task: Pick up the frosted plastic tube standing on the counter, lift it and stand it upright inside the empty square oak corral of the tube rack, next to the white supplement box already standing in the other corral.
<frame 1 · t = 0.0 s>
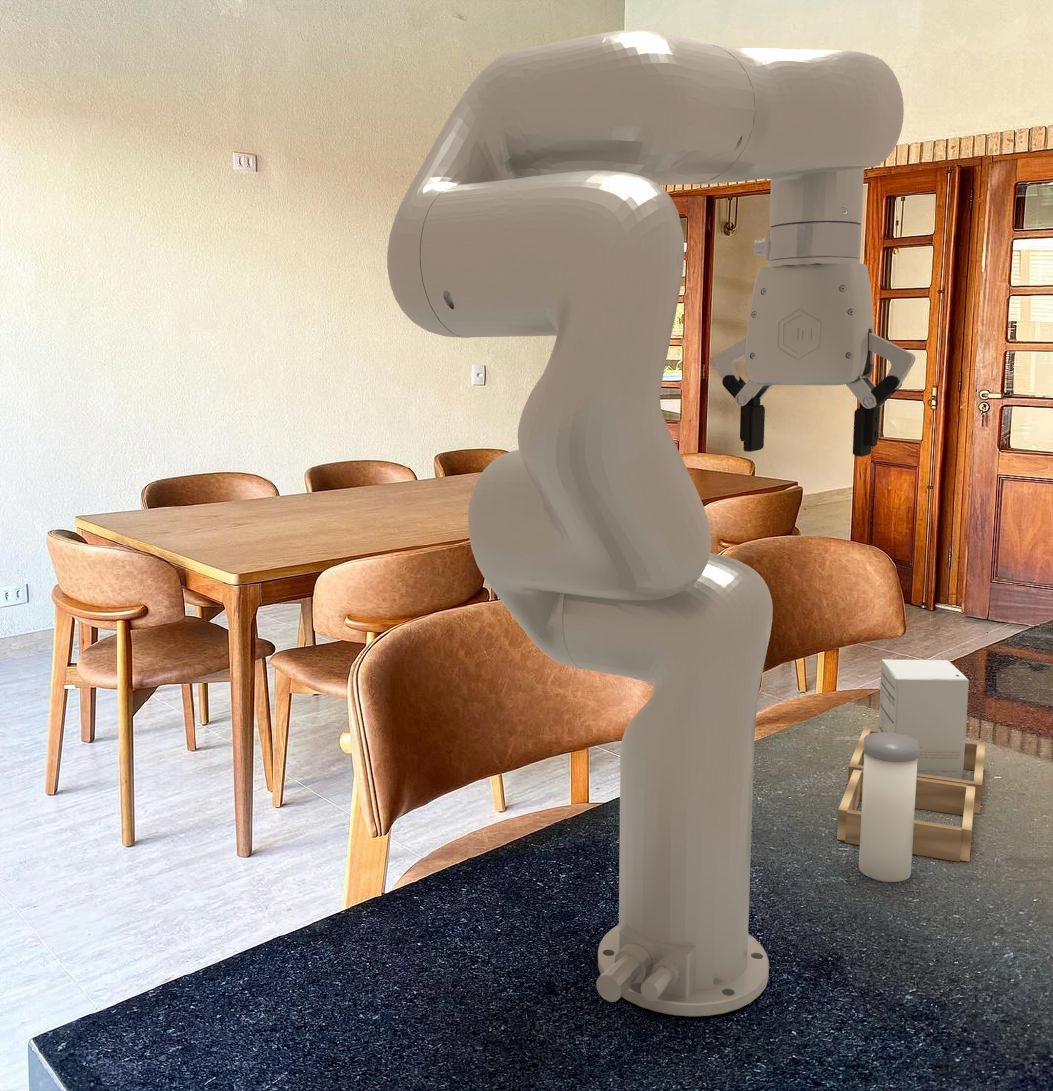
hand: (806, 452, 94), 37 cm above the counter, tool pointing down, fingers open, 9 cm apart
frosted tube: (884, 870, 96), on the counter
oak rack: (912, 803, 110), on the counter
supplement box: (917, 783, 116), resting in oak rack
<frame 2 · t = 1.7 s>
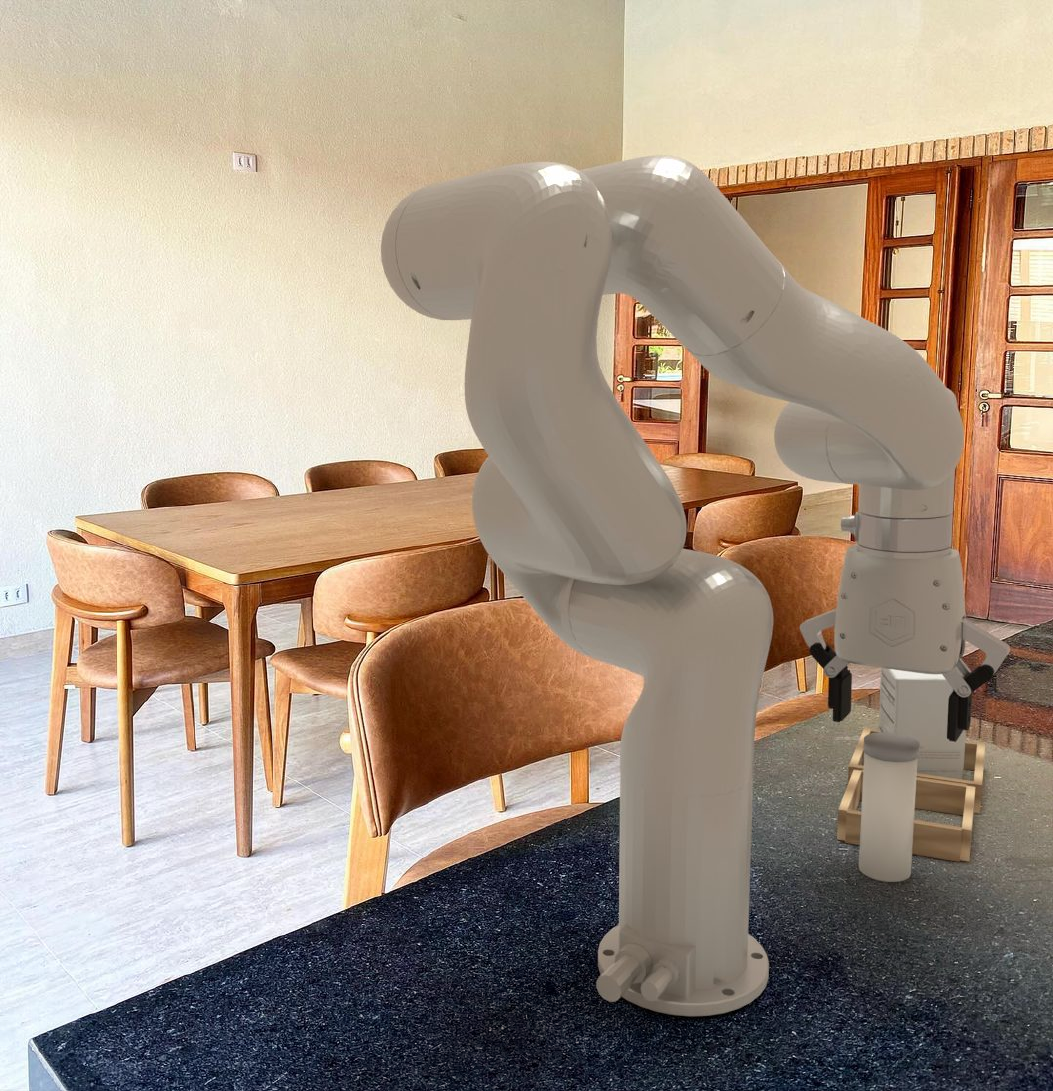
hand: (896, 726, 94), 13 cm above the counter, tool pointing down, fingers open, 9 cm apart
nothing on the counter moved.
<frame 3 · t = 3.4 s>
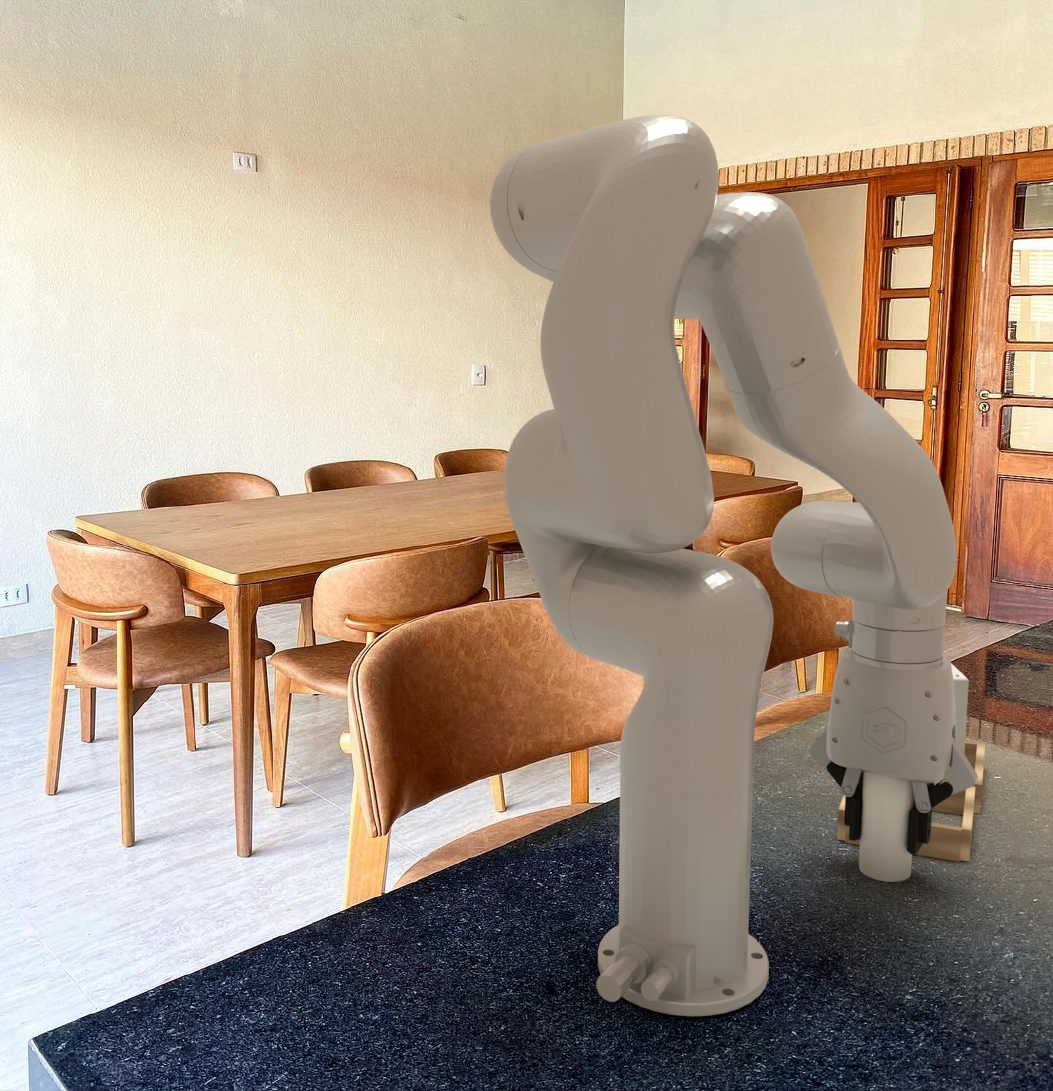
hand: (886, 839, 96), 3 cm above the counter, tool pointing down, fingers closed on frosted tube, 4 cm apart
frosted tube: (884, 870, 96), on the counter, touching gripper
everything else where it was.
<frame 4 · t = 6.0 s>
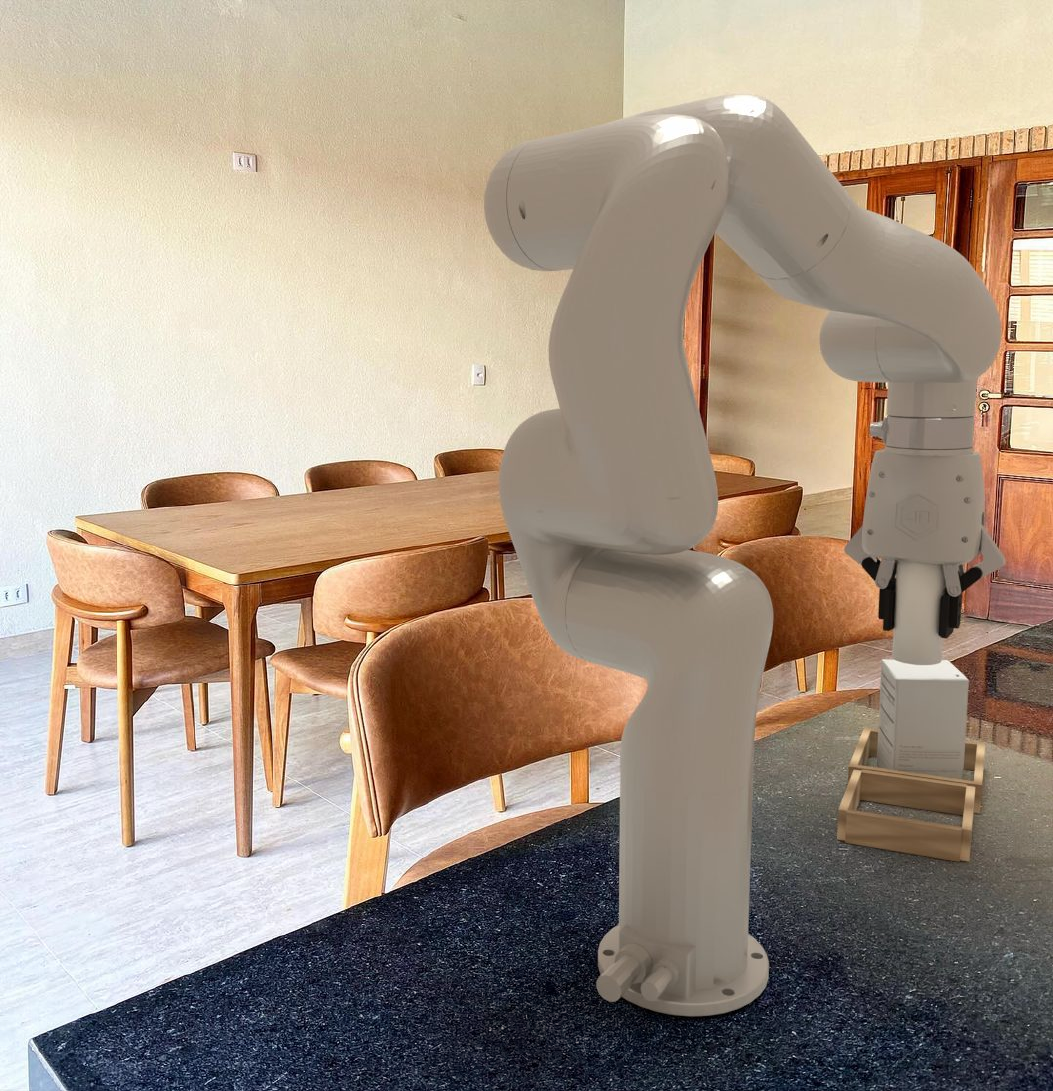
hand: (918, 629, 102), 20 cm above the counter, tool pointing down, fingers closed on frosted tube, 4 cm apart
frosted tube: (916, 658, 102), point 17 cm above the counter, touching gripper
everything else where it was.
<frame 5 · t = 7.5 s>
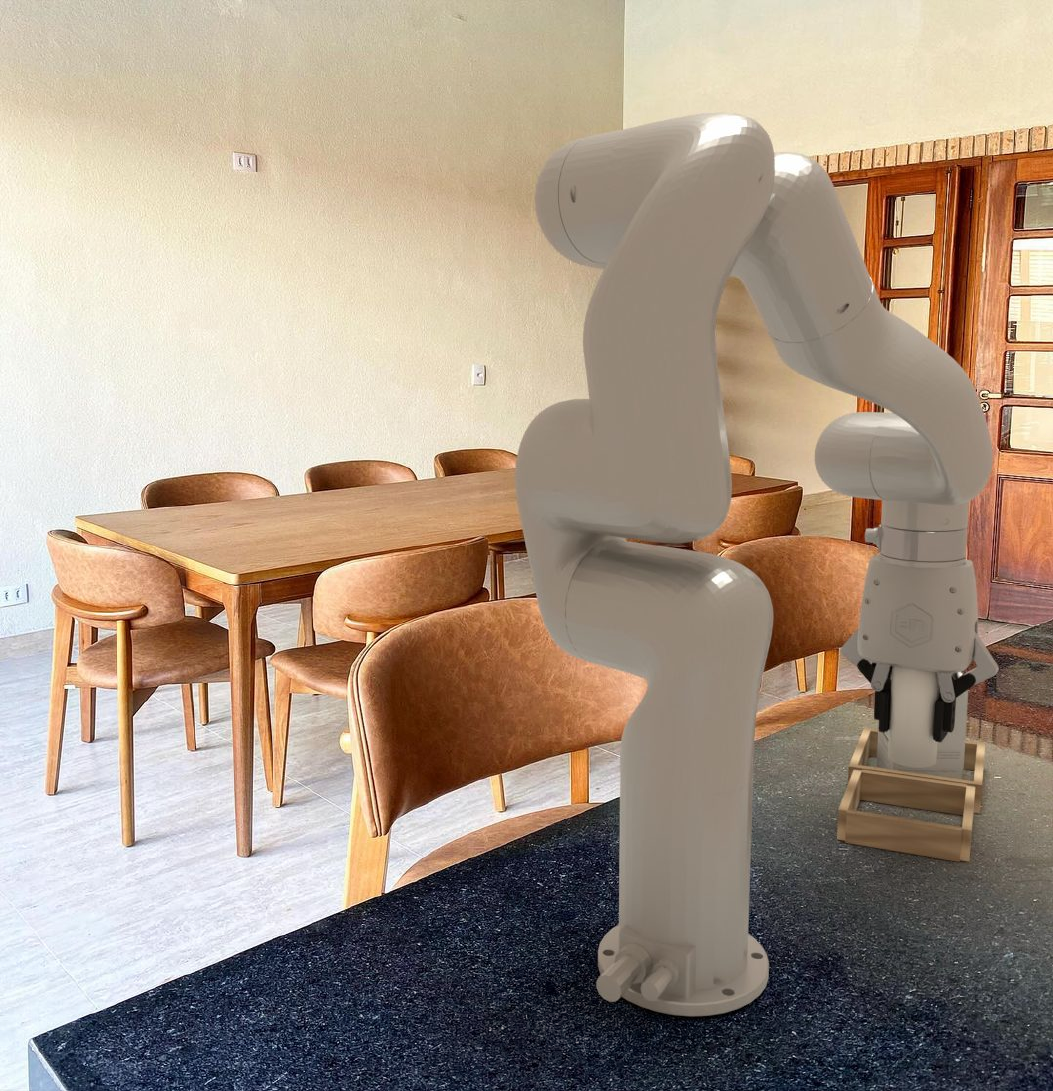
hand: (913, 730, 103), 10 cm above the counter, tool pointing down, fingers closed on frosted tube, 4 cm apart
frosted tube: (911, 758, 104), point 7 cm above the counter, touching gripper
everything else where it was.
when the fingers open (4 cm above the counter, at t = 8.9 s): frosted tube drops 2 cm, resting in oak rack.
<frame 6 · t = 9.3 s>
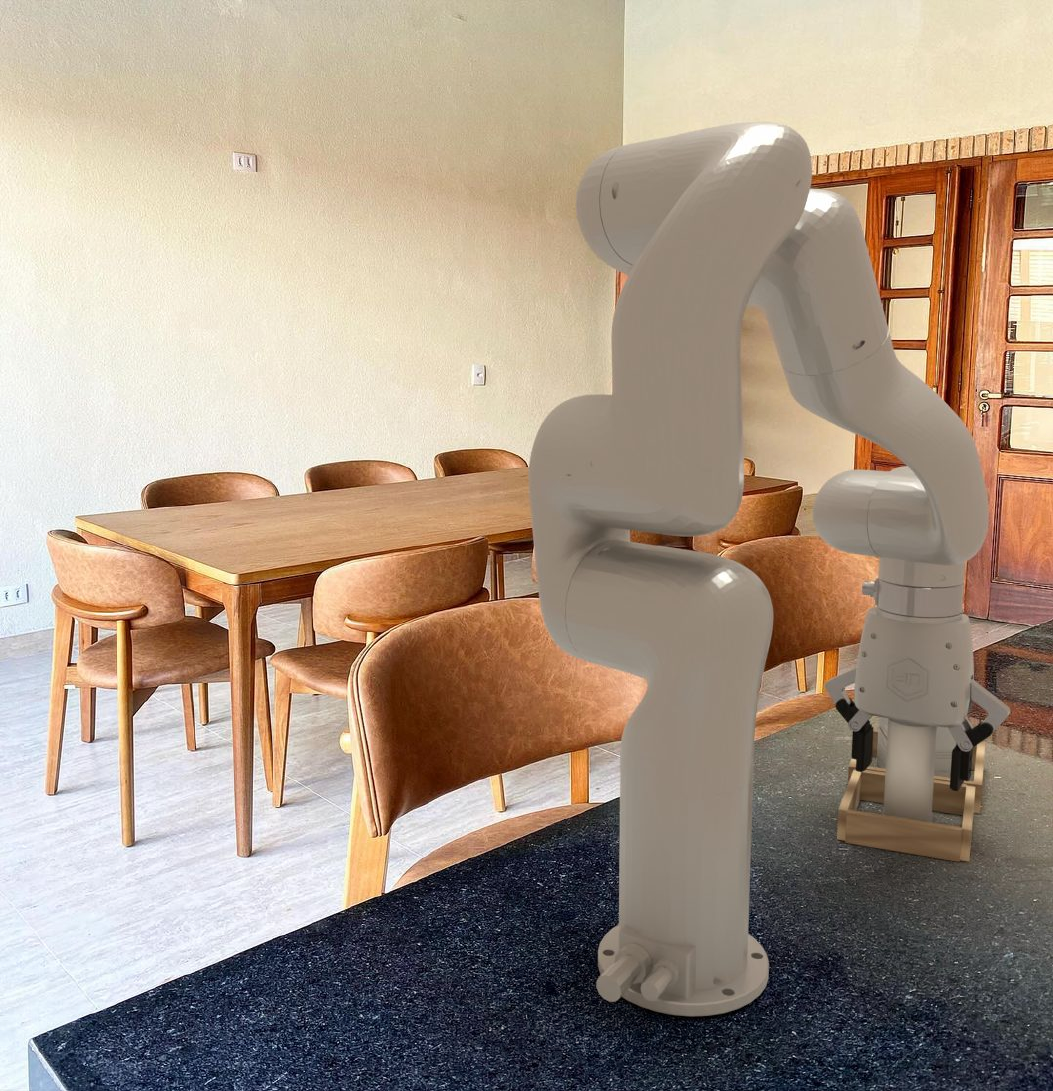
hand: (909, 775, 104), 5 cm above the counter, tool pointing down, fingers open, 8 cm apart
frosted tube: (906, 827, 105), resting in oak rack
everything else where it was.
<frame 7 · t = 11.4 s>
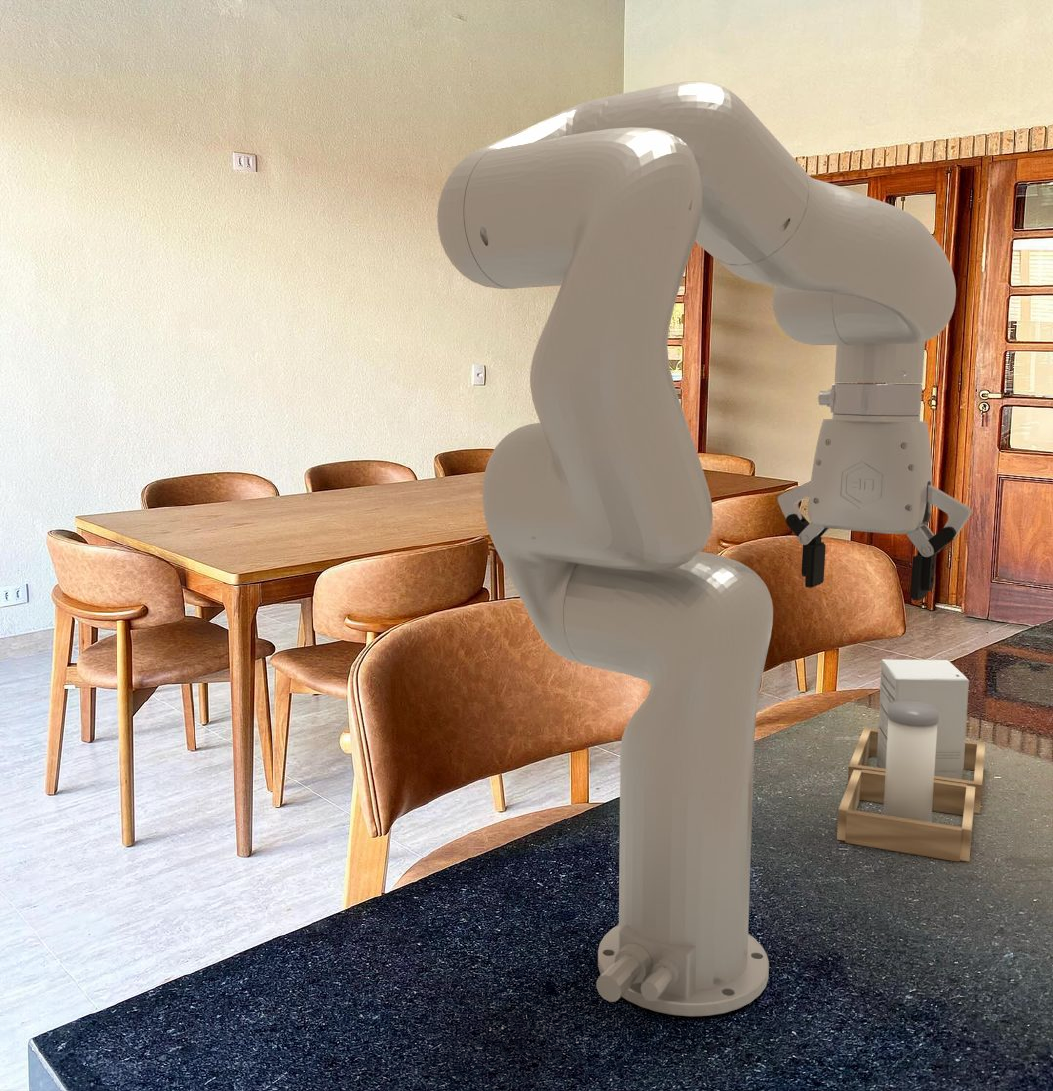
hand: (865, 591, 100), 24 cm above the counter, tool pointing down, fingers open, 9 cm apart
nothing on the counter moved.
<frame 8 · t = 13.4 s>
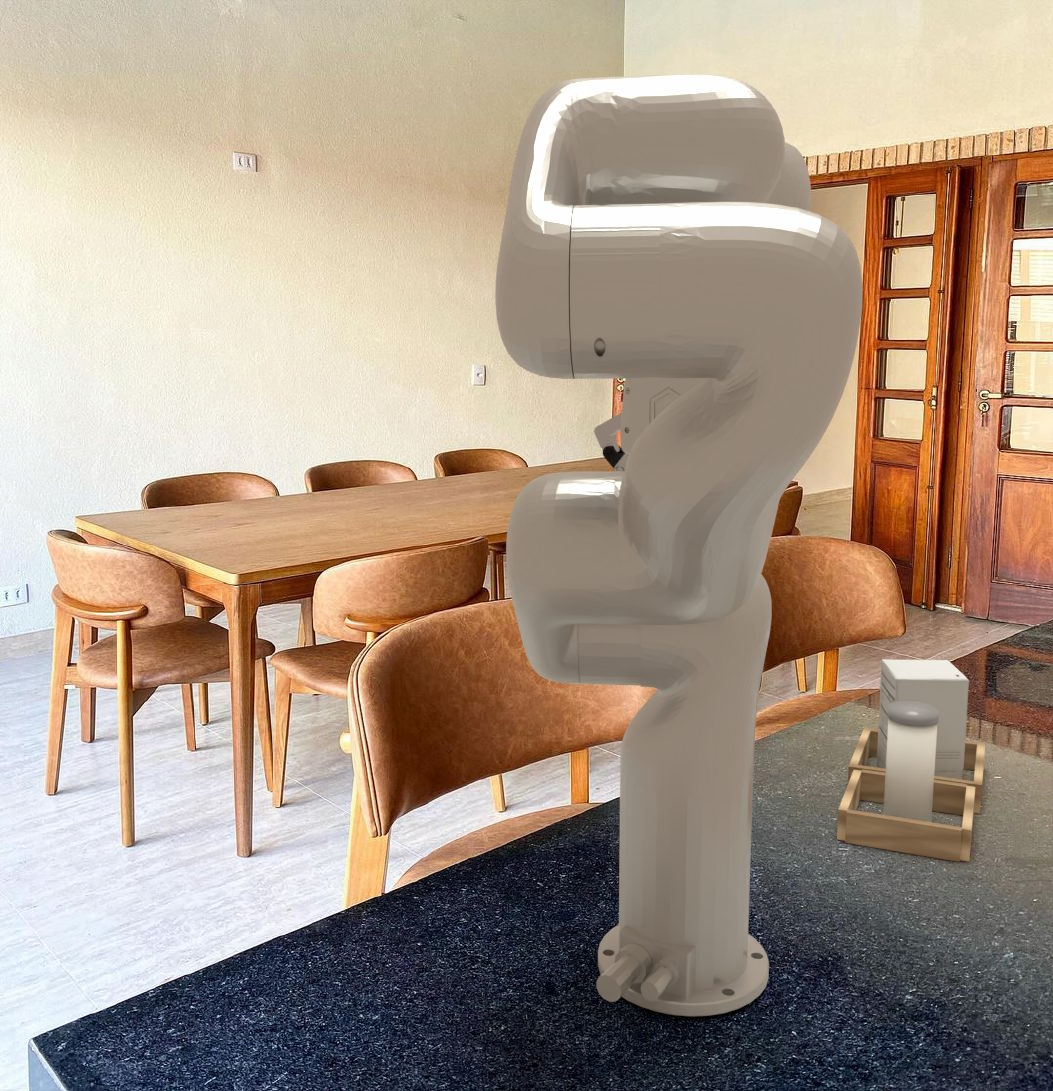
hand: (680, 522, 98), 30 cm above the counter, tool pointing down, fingers open, 9 cm apart
nothing on the counter moved.
at the end: frosted tube inside the target area on the oak rack (0.0 cm from its centre), point 0.0 cm above the oak rack's base; frosted tube tilted 0°; the gripper is holding nothing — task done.
